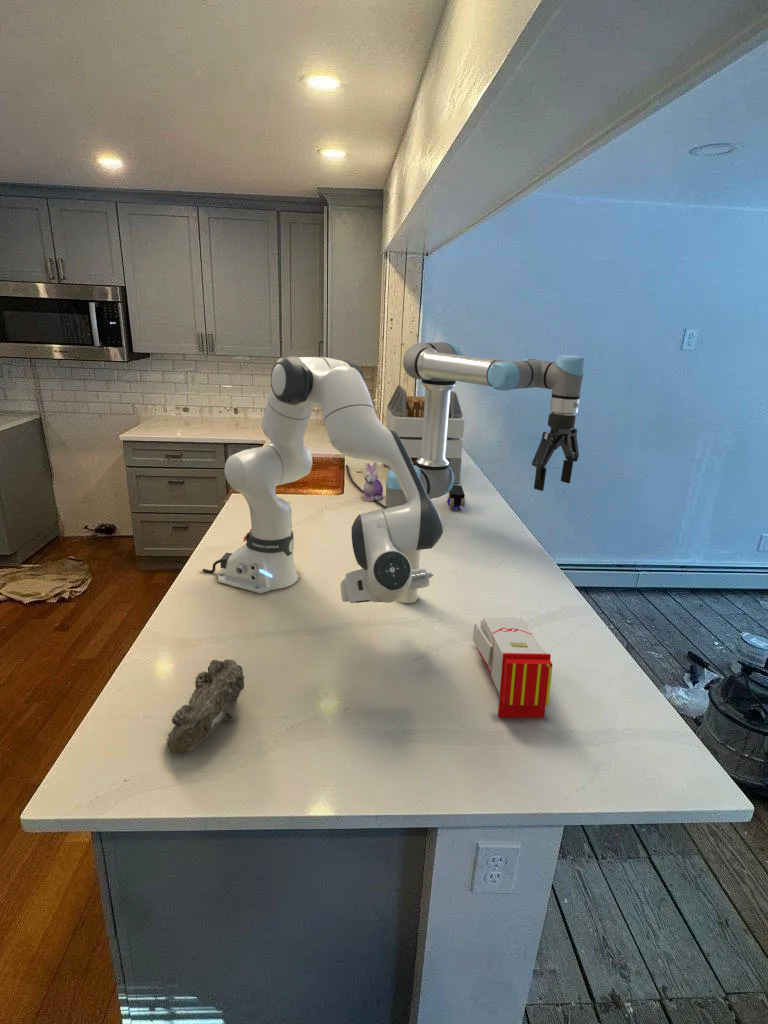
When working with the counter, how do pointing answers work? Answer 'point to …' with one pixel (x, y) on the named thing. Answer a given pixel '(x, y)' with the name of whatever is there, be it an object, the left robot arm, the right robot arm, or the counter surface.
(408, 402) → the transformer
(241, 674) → the fossil
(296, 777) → the counter surface
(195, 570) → the counter surface
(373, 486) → the figurine
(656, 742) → the counter surface
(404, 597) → the jar
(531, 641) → the toy
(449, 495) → the figurine character
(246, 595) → the counter surface
